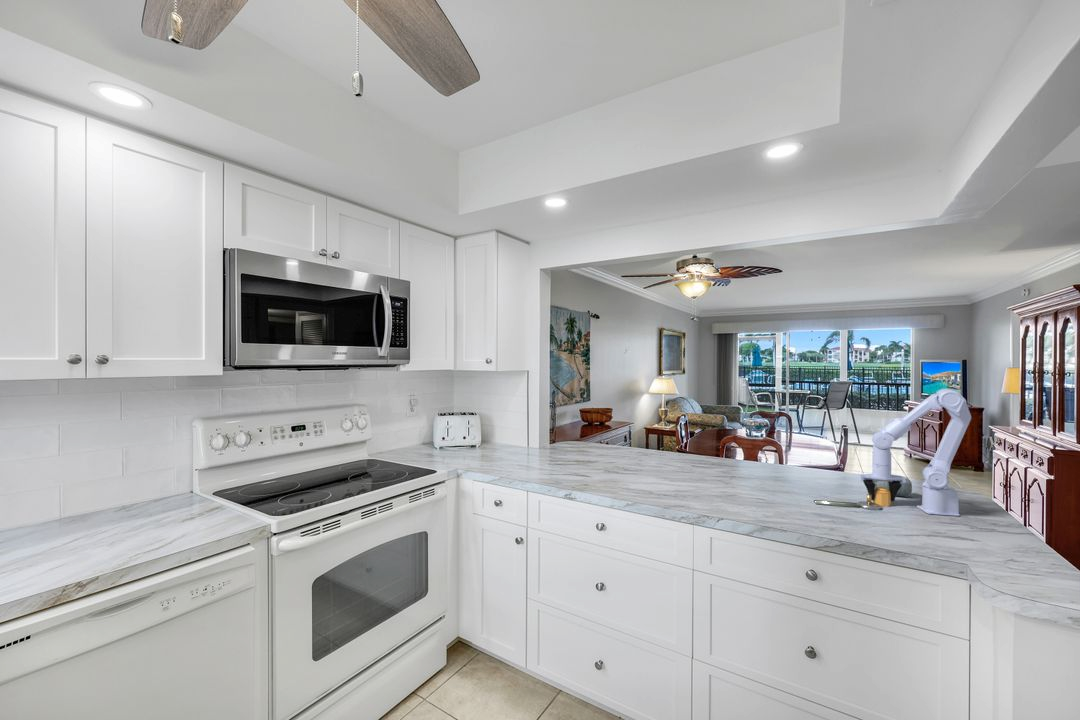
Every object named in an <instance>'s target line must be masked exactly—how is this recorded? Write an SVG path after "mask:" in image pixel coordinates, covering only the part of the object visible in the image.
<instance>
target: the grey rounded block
mask: <svg viewBox="0 0 1080 720" xmlns="http://www.w3.org/2000/svg"><path fill="white" fill-rule="evenodd" d="M891 475H892V476H900V475H897V474H892V473H891ZM904 477H905V478H906V483H902V482H900V483H901V484H902V487H901V488H900V489H899V491H898V492H897V494H896V497H903V498H904V497H905V498H907V497H910V496H912V494H913V493H912V492H913V483H912V481H911V480H910V479H909V478H908V477H906V476H904ZM873 482H874V483H875V487H885V488H888V490H889V484H888V481H873Z"/></svg>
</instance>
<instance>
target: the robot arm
mask: <svg viewBox="0 0 1080 720" xmlns="http://www.w3.org/2000/svg"><path fill="white" fill-rule="evenodd" d="M942 407H943V408H944V409H945V411H946V412H947V413H948V415H949V416H950V420H949V422H948V425H947V427H946V429H945V431H944V433H943V435H942V438H941V440H940V442H939V445H938V447H937V450H936V452H935V454H934V456H933V458H932V459H931V460H930V462H929V463H928V465H926V467H924V468H923V469H922V471H921V472H922V473H921V474H922V477H923V479H924V482H921V483H922V484H921V505H916V507H917V508H918V509H919V510H921V511H923V512H925V513H926V514H928V515H938V516H939V515H942V516H953V517H954V516H955V517H960V516H961V514H959V511H960V510H959V505H960V504H959V503H960V502H959V501H960V500H959V497H960V496H959V494H958V491H957V490H956V489H955V487H949V482H950V479H949V474H950V471H951V465H952V462H953V460H954V457H955V456H956V453H957V451H958V449H959V447H960V445H961V442H962V440H963V438H964V435H965V434H966V431H967V429H968V426H969V425H970V422H971V421H972V414H971V412H970V409H969V405H968V404H967V400H966V398H965V397H963V395H962V394H961V393H960V392H958V391H957V390H954V389H951V388H941V389H938V390H937V391H936V392H935V393H932V394H930V395H929V396H928V397H927V398H925V399H924V400H923V401H922V402H920V403H919V404H918V405H916V406H915V407H914V408H913V409H911V410H910V411H909V412H907V414H906V415H904V416H903V417H896V418H894V419H893V418H891V419H889V423H888V424H886V425H885V426H884V427H880V428H879V429H878V432H875V433H874V434H873V435H872V437H871V441H872V444H873V446H872V453H871V454H872V457H871V458H872V460H871V461H872V465H871V466H872V468H871V469H872V471H871V472H872V473H870V474H869V473H866V474H865V473H863V474H862V473H859V474H858V480H859V481H862V482H863V485H864V486H865V487H866V490H867V492H868V494H869V495H871V501H873V500H874V489H875V483H874V482H873V481H888V484H889V490H890V493H891V503H892V502H893V503H894V502H895V500H896V497H897V496H896V494H897V492H898V491H899V489H900V488H901V487H902V484H901V483H900V482H902V483H906V478H907V477H906V476H902V475H899V476H892V475H893V474H892V451H891V447H892V446H893V442H895V441H897V440H899V439H900V438H902V437H903V436H904V435H906V434H907V433H908V432H910V431H911V429H912V424H913V423H915V422H916V421H917V420H920V419H921V418H922V417H923V416H925V415H926V414H928V413H930V412H931V411H935V410H942ZM891 474H892V475H891ZM905 477H906V478H905Z"/></svg>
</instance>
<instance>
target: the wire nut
mask: <svg viewBox="0 0 1080 720" xmlns="http://www.w3.org/2000/svg"><path fill="white" fill-rule="evenodd" d="M872 502H873V503H877V504H879V505H881V507H890V506H892V501H891V493H890V490H888V488H885V487H875V489H874V500H872Z"/></svg>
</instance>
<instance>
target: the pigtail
mask: <svg viewBox="0 0 1080 720" xmlns="http://www.w3.org/2000/svg"><path fill="white" fill-rule="evenodd" d="M813 503H815V505H816V506H817V505H821V506H832V507H833V506H834V507H846V508H847V507H849V508H850V507H851V508H860V509H865V510H868V511H880V510H882V506H881V505H879V504H877V503H873V501H872V500H871V495H869V493H868V494H867V493H866V501H863V500H861V501H858V502H849V501H848V502H847V501H836V500H834V501H833V500H820V499H814V500H813Z"/></svg>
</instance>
